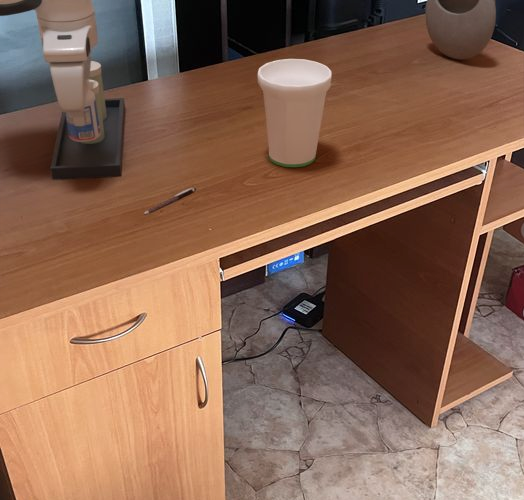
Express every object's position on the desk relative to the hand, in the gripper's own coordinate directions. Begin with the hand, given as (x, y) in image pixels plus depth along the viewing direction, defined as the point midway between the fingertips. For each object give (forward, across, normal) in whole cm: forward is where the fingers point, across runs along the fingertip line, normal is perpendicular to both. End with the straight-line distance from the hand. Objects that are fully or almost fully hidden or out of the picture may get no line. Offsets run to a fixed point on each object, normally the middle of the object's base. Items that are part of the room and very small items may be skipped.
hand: (81, 116), depth 133 cm
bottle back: (+8, -18, 0) cm, 20 cm away
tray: (+9, -9, 0) cm, 13 cm away
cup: (+9, +1, +36) cm, 37 cm away
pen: (+9, +15, +14) cm, 22 cm away
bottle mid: (+8, -9, 0) cm, 12 cm away
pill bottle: (+4, 0, 0) cm, 4 cm away
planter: (+9, -44, +79) cm, 91 cm away
